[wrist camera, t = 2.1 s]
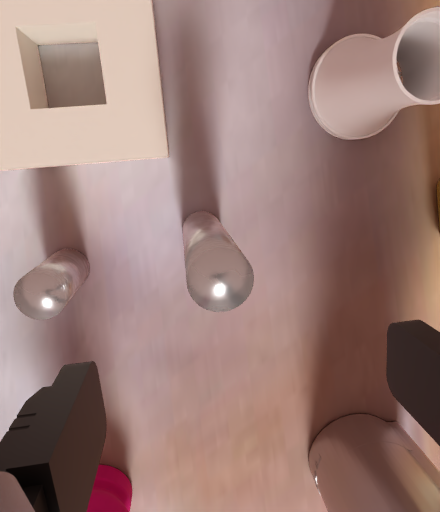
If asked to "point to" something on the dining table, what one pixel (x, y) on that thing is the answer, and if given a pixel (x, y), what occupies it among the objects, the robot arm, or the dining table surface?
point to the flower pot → (439, 196)
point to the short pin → (51, 284)
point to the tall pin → (214, 264)
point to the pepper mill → (110, 491)
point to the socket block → (80, 117)
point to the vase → (376, 77)
